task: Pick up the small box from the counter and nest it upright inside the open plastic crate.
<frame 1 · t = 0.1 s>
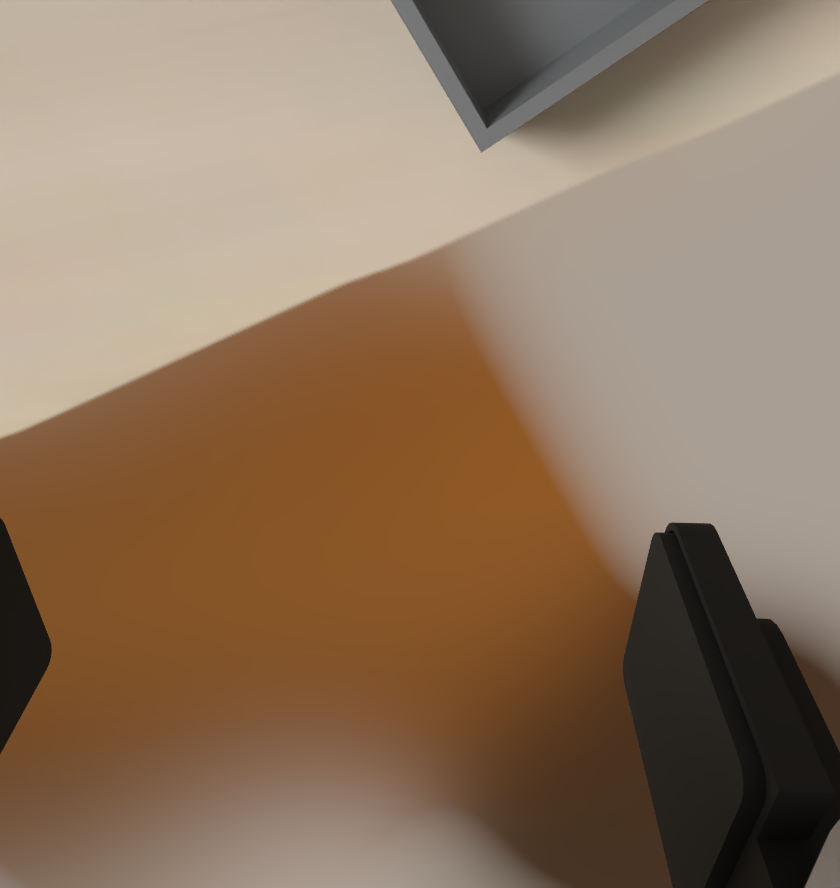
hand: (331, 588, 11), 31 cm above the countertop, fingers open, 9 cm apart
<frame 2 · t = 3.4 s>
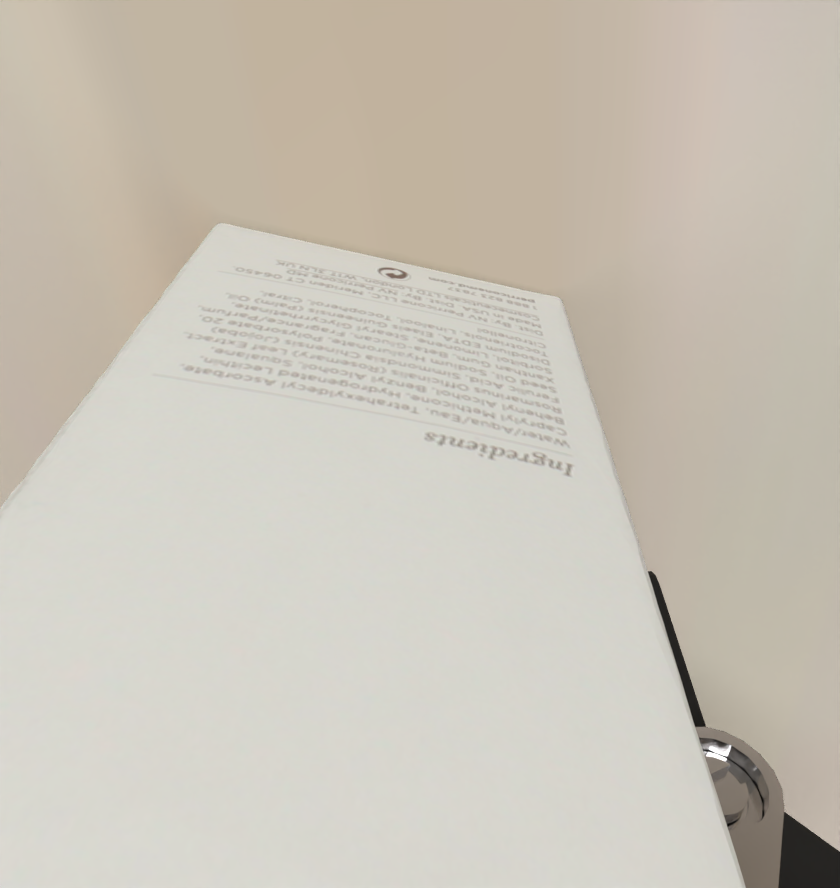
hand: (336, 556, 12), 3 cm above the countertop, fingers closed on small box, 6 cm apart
small box: (355, 450, 14), on the countertop, touching gripper
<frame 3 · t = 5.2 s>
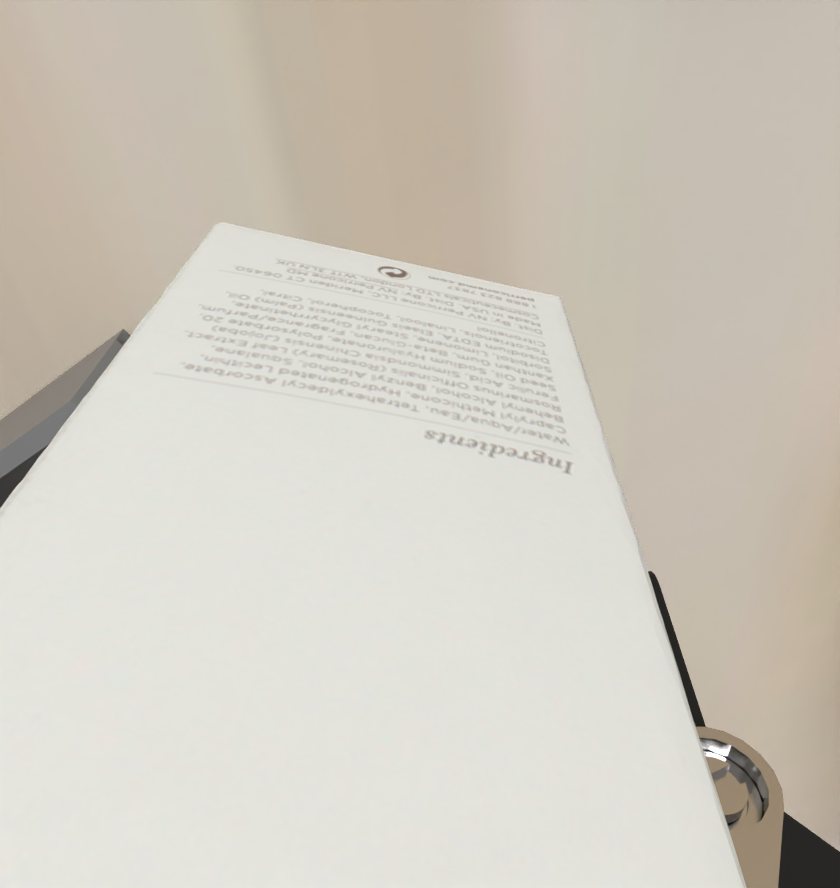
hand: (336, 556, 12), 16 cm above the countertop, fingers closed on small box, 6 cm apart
small box: (355, 449, 14), point 13 cm above the countertop, touching gripper
crate: (139, 515, 32), on the countertop
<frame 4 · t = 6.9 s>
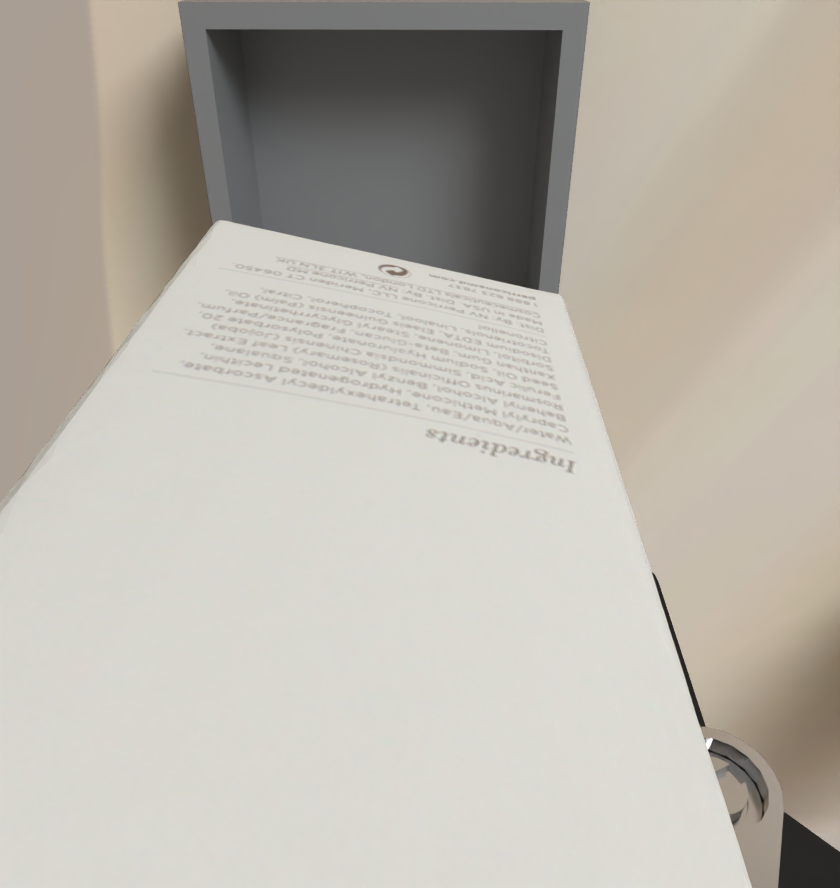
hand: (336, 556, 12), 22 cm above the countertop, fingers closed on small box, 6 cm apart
small box: (355, 448, 14), point 19 cm above the countertop, touching gripper
crate: (396, 184, 30), on the countertop
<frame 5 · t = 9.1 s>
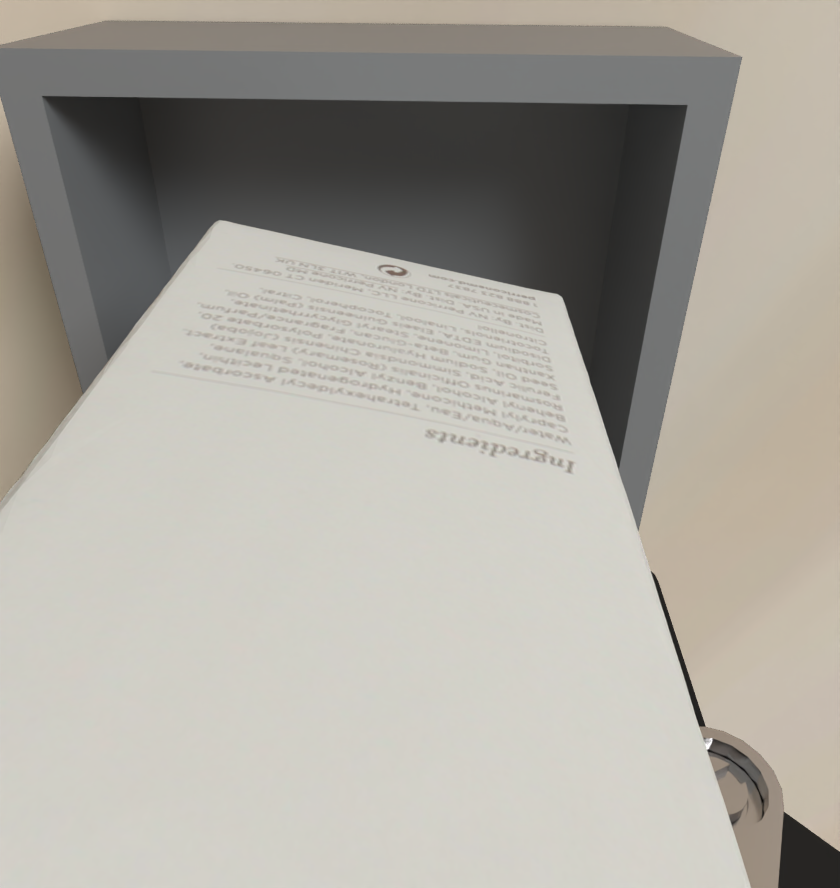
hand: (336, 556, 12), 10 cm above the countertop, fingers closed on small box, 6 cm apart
small box: (355, 449, 14), point 7 cm above the countertop, touching gripper
crate: (388, 307, 20), on the countertop
when the fingers open (5 cm above the countertop, at t = 10.6 s): small box drops 1 cm, resting on crate.
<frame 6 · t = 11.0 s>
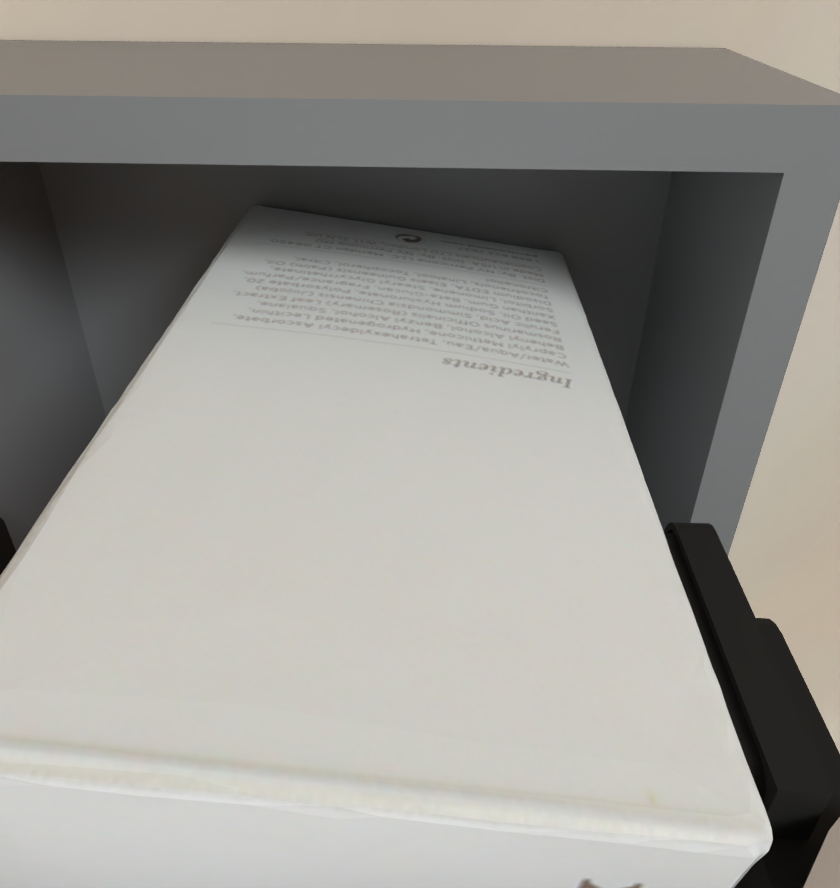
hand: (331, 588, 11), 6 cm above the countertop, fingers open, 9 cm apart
small box: (384, 409, 15), point 1 cm above the countertop, touching crate
crate: (366, 391, 16), on the countertop
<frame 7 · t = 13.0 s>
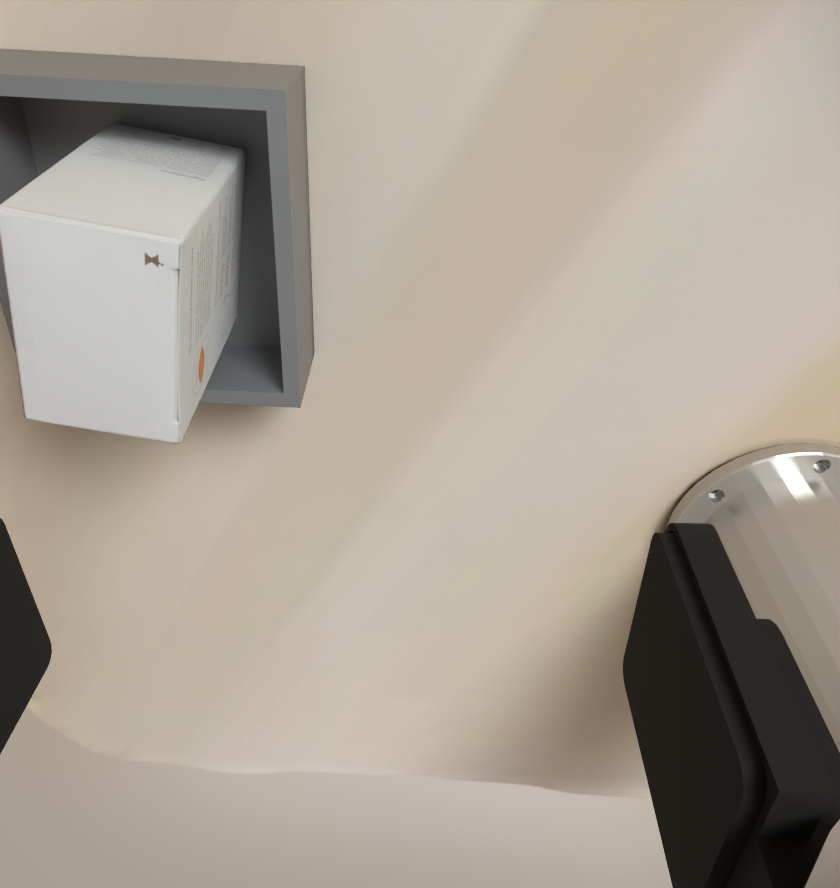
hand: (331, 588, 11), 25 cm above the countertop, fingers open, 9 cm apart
small box: (181, 225, 33), point 1 cm above the countertop, touching crate
crate: (175, 218, 34), on the countertop
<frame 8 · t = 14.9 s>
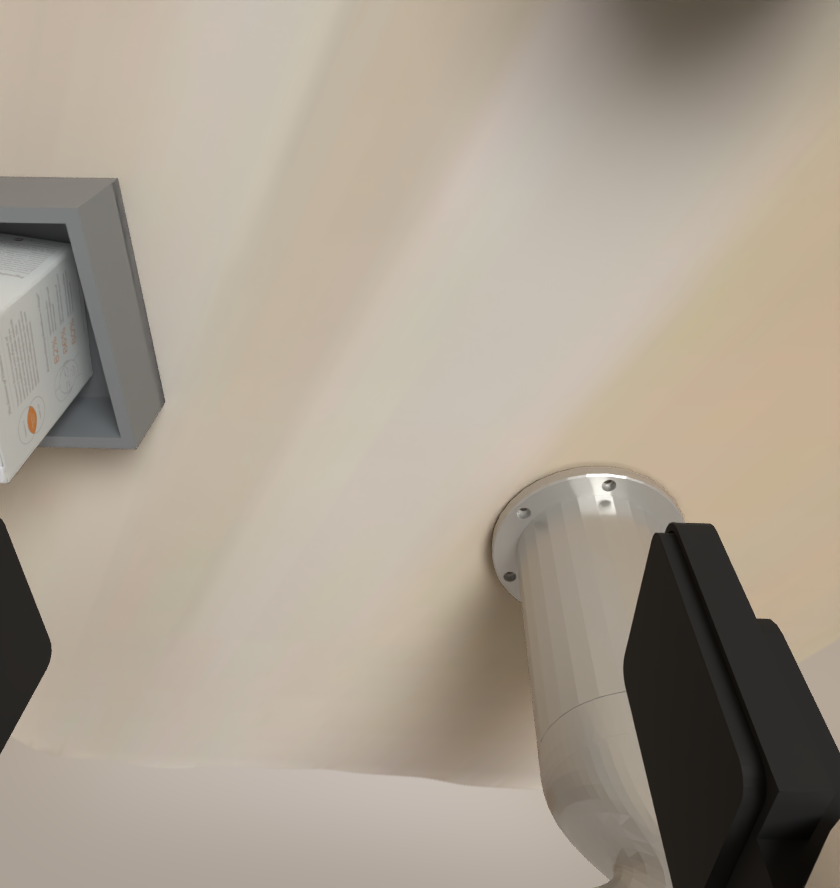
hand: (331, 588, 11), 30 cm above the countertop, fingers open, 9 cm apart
small box: (38, 303, 41), point 1 cm above the countertop, touching crate
crate: (35, 298, 41), on the countertop
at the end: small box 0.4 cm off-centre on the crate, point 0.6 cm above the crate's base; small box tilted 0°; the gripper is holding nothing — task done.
